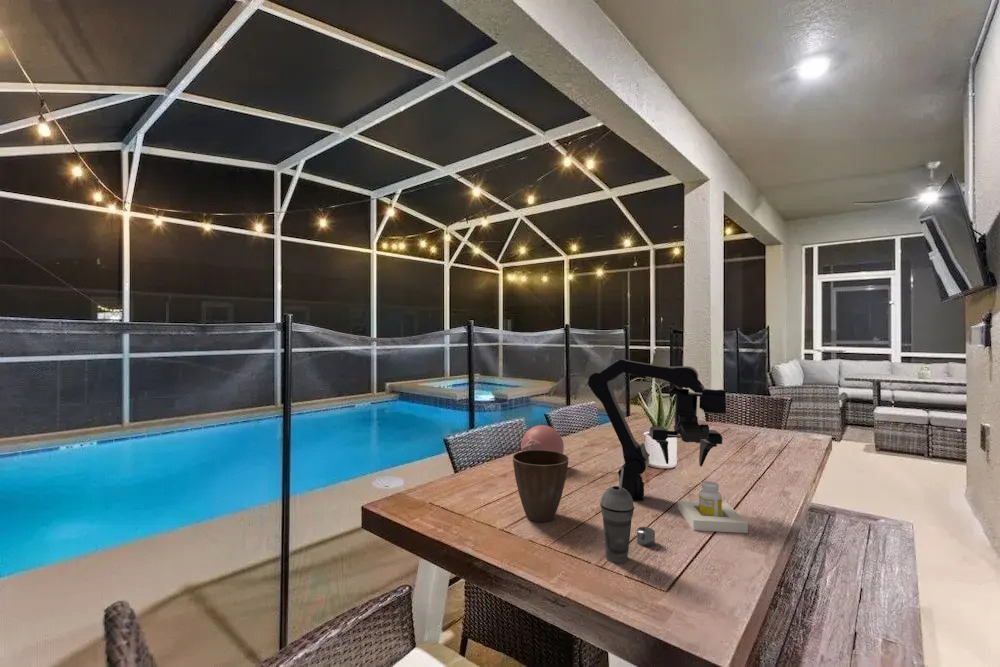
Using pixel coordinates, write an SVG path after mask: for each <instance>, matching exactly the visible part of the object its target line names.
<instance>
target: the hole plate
mask: <svg viewBox="0 0 1000 667" xmlns="http://www.w3.org/2000/svg"><path fill="white" fill-rule="evenodd" d="M677 506H678V507H677V509H678V512H679V513H680V515H682V517H683V518H684V519H685V521H686V522H687V524H688V526H690V528H691V529H692V531H705V532H721V533H722V532H724V533H727V532H728V533H739V534H740V533H741V534H742V533H743V534H748V533H749V532H748V531H749V523H748V522H747V521H746V520H745V518H744V517H742V516H741V515H740V514H739V513H738V512H737V511H736V510H735V509H734V508H733V507H732V506H731V505H729V504H728V503H727V502H722V517H716V516H702V515H701V514H700V513H699V501H692V500H690V501H689V500H678V501H677Z"/></svg>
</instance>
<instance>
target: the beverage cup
mask: <svg viewBox="0 0 1000 667" xmlns="http://www.w3.org/2000/svg"><path fill="white" fill-rule="evenodd" d="M620 469H621V468H620ZM623 472H624V468H622V469H621V477H620V485H619V484H618V486H617V485H613V486H610V487H609V488H607V489H606V490H605V491H604V492H603V494H602V496H601V498H600V507H601V508H600V509H601V515H602V524H603V537H604V539H603V540H604V550H605V558H606V560H607V561H609V562H611V563H612V564H613V563H614V564H624V563H626V562H627V561H628V555H629V550H630V549H629V548H630V538H631V530H632V529H631V527H632V519H633V515H634V510H635V505H634V500H633V499H632V497H631V495H630V493H629V492H628V491H627V490H626V489H624V488H622V479H623Z"/></svg>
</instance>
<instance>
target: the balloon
mask: <svg viewBox="0 0 1000 667" xmlns="http://www.w3.org/2000/svg"><path fill="white" fill-rule="evenodd" d="M520 447H521V451H520V452H522V451H529V450H546V451H554V452H559V453H562V454H564V450H565V449H564V448H565V446H564V441H563V438H562V436H561V435H560V432H558V431H557V430H556V429H554V428H553V427H552V426H549V425H546V424H545V425H544V424H540V425H539V424H538V425H535V426H533V427H531V428H530V429H528V430H527V431H526V432H525V433H524V435H523V437H522V439H521V444H520Z"/></svg>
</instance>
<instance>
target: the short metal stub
mask: <svg viewBox="0 0 1000 667" xmlns="http://www.w3.org/2000/svg"><path fill="white" fill-rule="evenodd" d="M655 539H656V530H654V529H653V528H651V527H646V526H639V527H637V529H636V544H638V545H639V546H640V547H644V548H653V547H655V544H656V542H655V541H656V540H655Z"/></svg>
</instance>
